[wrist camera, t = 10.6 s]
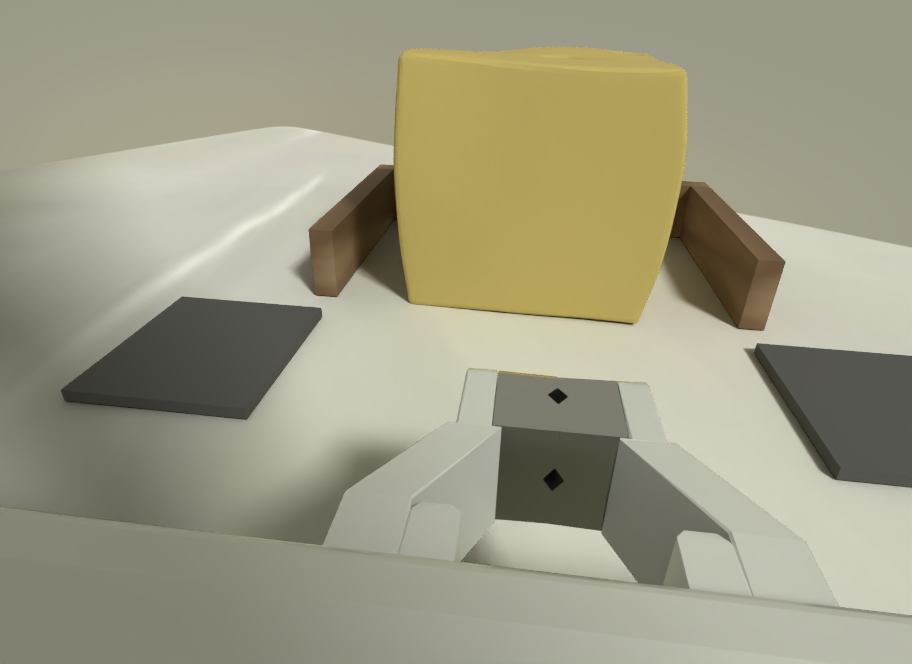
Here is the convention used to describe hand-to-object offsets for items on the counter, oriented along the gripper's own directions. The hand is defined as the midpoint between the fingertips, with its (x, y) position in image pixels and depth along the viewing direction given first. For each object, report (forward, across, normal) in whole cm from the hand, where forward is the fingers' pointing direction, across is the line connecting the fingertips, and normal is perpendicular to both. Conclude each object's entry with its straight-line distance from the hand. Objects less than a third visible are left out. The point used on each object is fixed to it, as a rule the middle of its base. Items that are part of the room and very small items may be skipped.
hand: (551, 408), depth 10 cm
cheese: (+18, 0, +5) cm, 19 cm away
